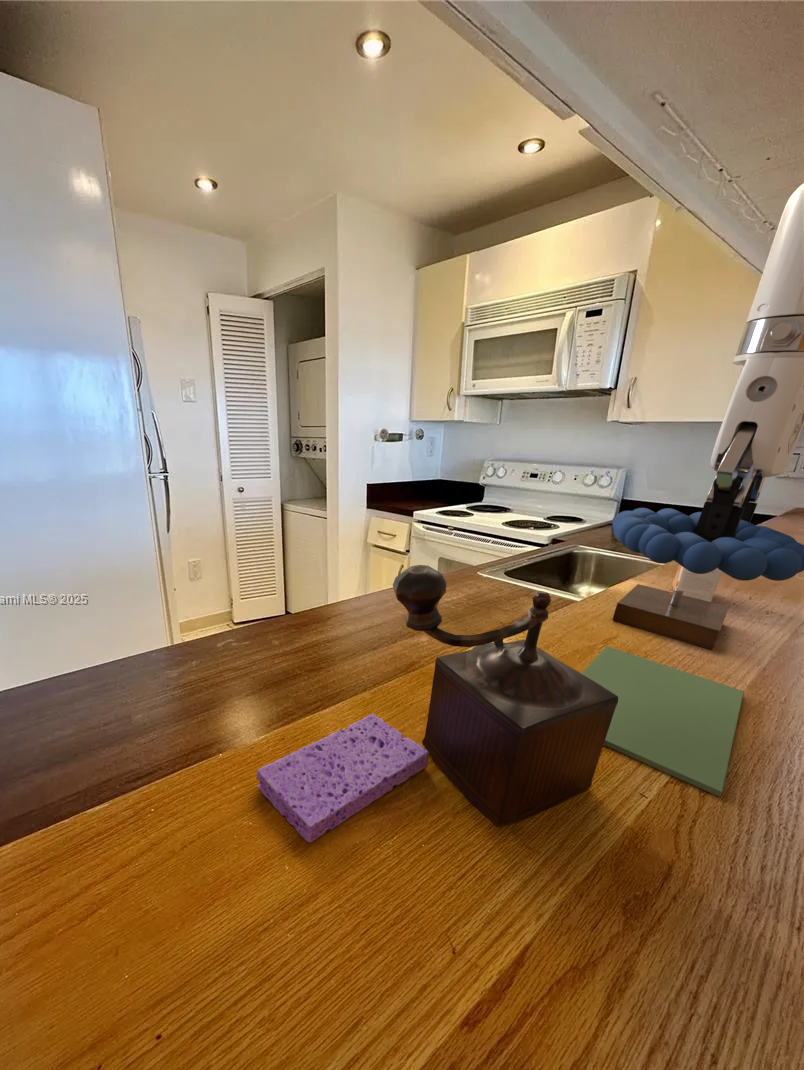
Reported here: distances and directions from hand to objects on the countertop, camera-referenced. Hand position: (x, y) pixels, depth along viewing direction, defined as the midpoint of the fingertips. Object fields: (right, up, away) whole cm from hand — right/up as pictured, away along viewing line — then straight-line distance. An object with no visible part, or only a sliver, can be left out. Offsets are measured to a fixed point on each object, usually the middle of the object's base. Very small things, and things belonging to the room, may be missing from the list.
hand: (718, 538), depth 50 cm
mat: (-6, -18, +2) cm, 19 cm away
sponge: (-39, -21, -11) cm, 46 cm away
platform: (+11, -10, +25) cm, 29 cm away
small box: (+23, -6, +37) cm, 44 cm away
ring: (-5, -2, -3) cm, 6 cm away
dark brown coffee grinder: (-28, -21, -9) cm, 36 cm away
